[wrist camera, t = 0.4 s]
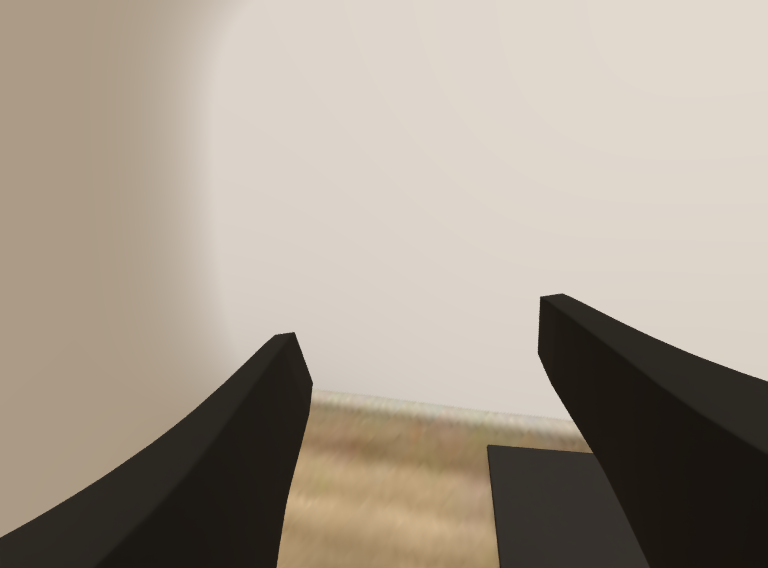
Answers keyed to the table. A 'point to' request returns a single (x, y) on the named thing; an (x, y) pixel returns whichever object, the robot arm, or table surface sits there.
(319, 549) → the table surface
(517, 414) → the table surface
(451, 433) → the table surface
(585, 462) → the mat
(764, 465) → the robot arm
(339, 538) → the table surface
